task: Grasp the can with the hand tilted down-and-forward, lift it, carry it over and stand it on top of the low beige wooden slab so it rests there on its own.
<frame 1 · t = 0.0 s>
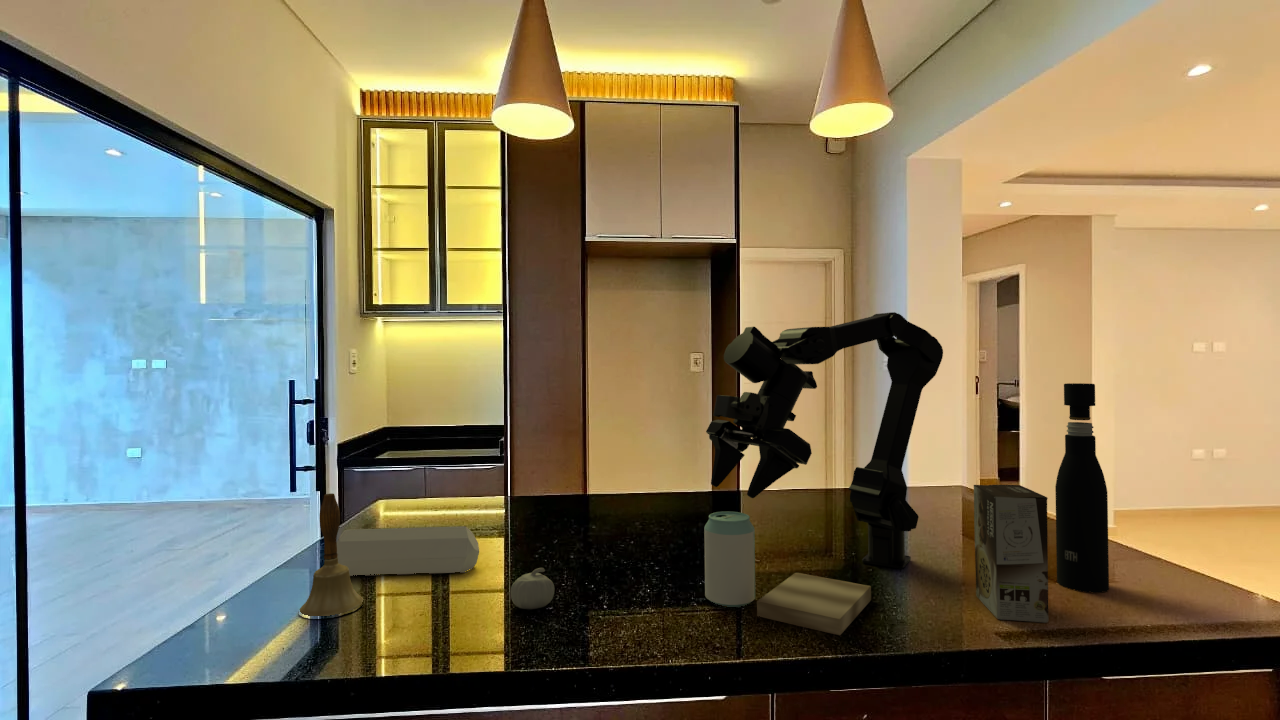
hand: (730, 491, 93), 15 cm above the worktop, tool tilted 35°, fingers open, 9 cm apart
hand bell: (332, 609, 89), on the worktop
can: (730, 601, 90), on the worktop
crystal: (406, 572, 105), on the worktop
black bottle: (1082, 586, 94), on the worktop
beige wooden slab: (815, 611, 87), on the worktop
coffee box: (1010, 610, 86), on the worktop
grey pumpkin: (532, 608, 89), on the worktop
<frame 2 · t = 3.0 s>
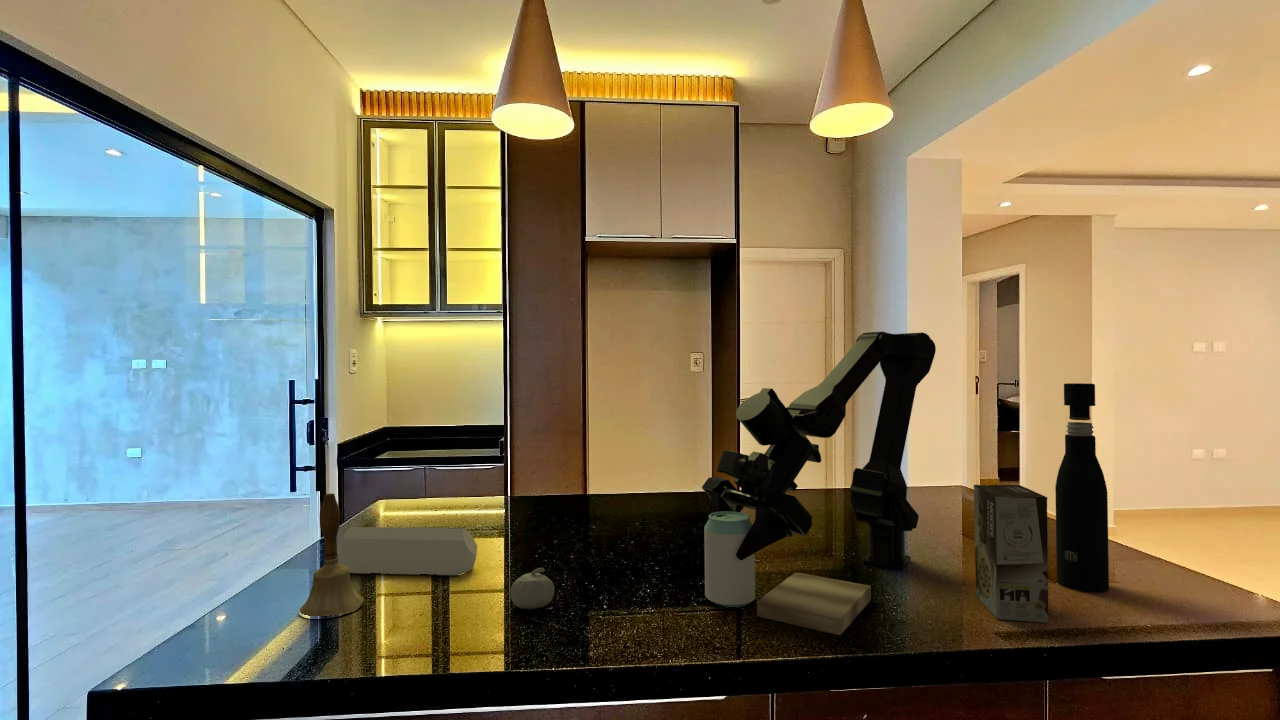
hand: (721, 551, 89), 7 cm above the worktop, tool tilted 45°, fingers closed on can, 7 cm apart
can: (730, 601, 90), on the worktop, touching gripper
when the fingers open (10 cm above the worktop, at t = 6.6 s): can drops 1 cm, resting on beige wooden slab.
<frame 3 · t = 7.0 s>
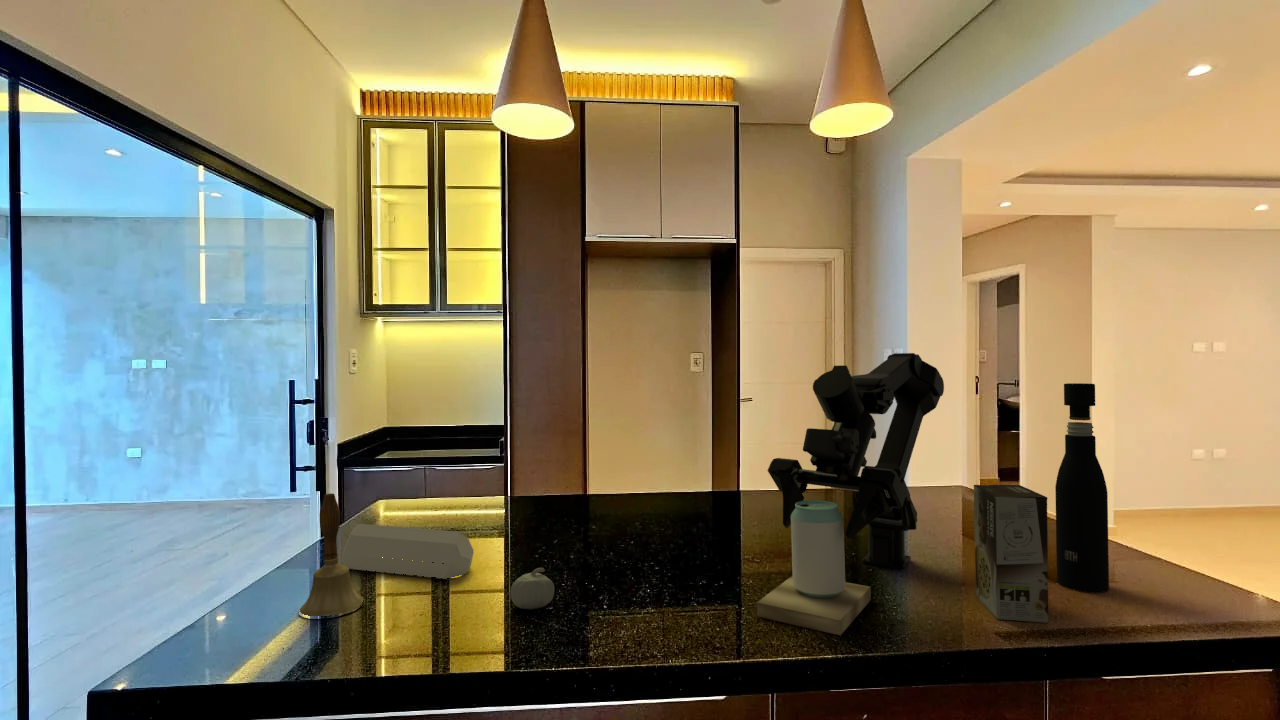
hand: (815, 531, 87), 10 cm above the worktop, tool tilted 45°, fingers open, 9 cm apart
can: (819, 591, 88), point 2 cm above the worktop, touching beige wooden slab
beige wooden slab: (815, 612, 87), on the worktop, touching can
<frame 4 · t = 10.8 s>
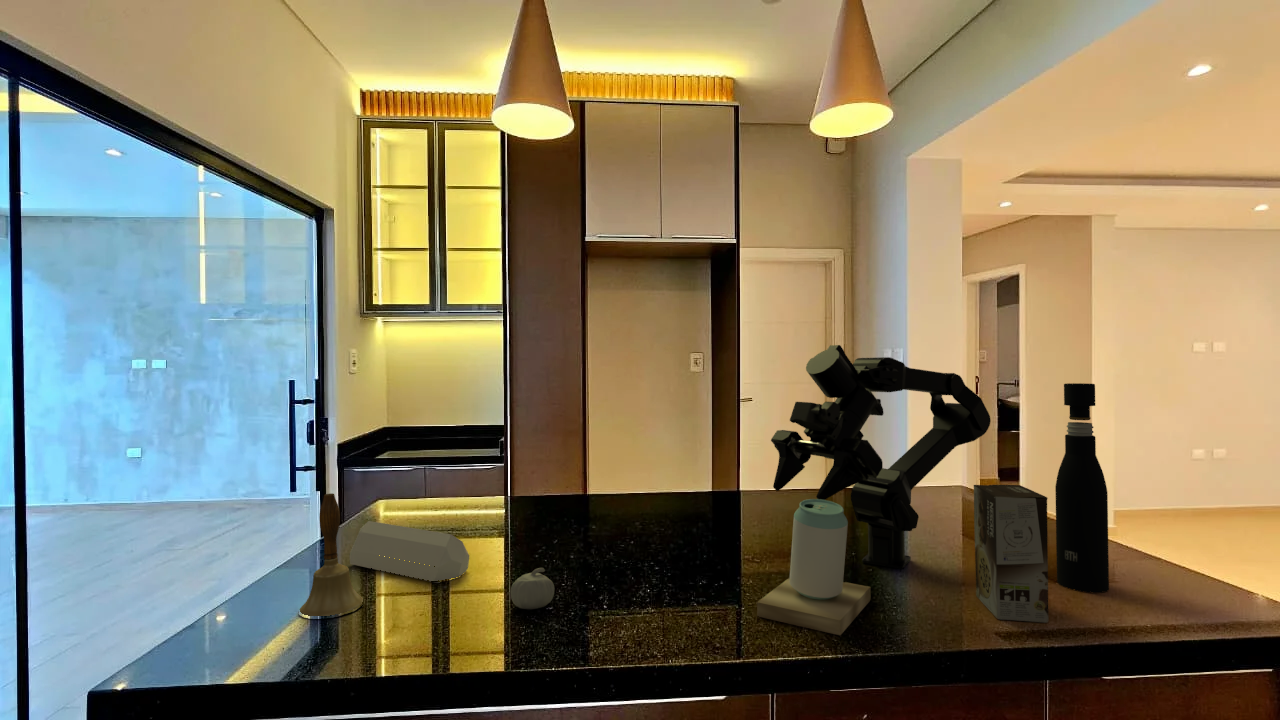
hand: (796, 494, 97), 14 cm above the worktop, tool tilted 45°, fingers open, 9 cm apart
can: (815, 590, 87), point 2 cm above the worktop, touching beige wooden slab
at the end: can 0.4 cm from the beige wooden slab (horizontally); can point 2.1 cm above the worktop; can tilted 9° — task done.
